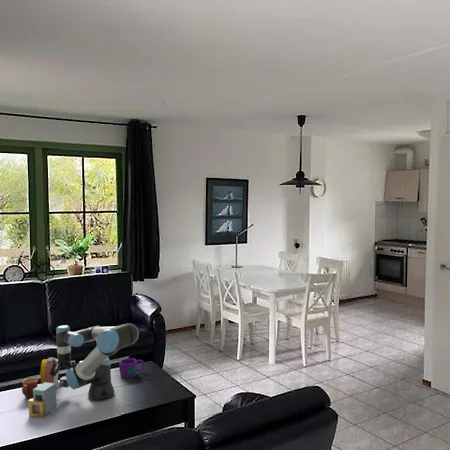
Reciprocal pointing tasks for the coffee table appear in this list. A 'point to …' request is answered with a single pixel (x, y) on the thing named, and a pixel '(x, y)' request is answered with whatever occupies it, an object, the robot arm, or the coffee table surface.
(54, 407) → the pillow block
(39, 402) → the frame
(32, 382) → the mug
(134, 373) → the mug
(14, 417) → the coffee table surface
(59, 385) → the shaft
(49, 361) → the alarm clock
